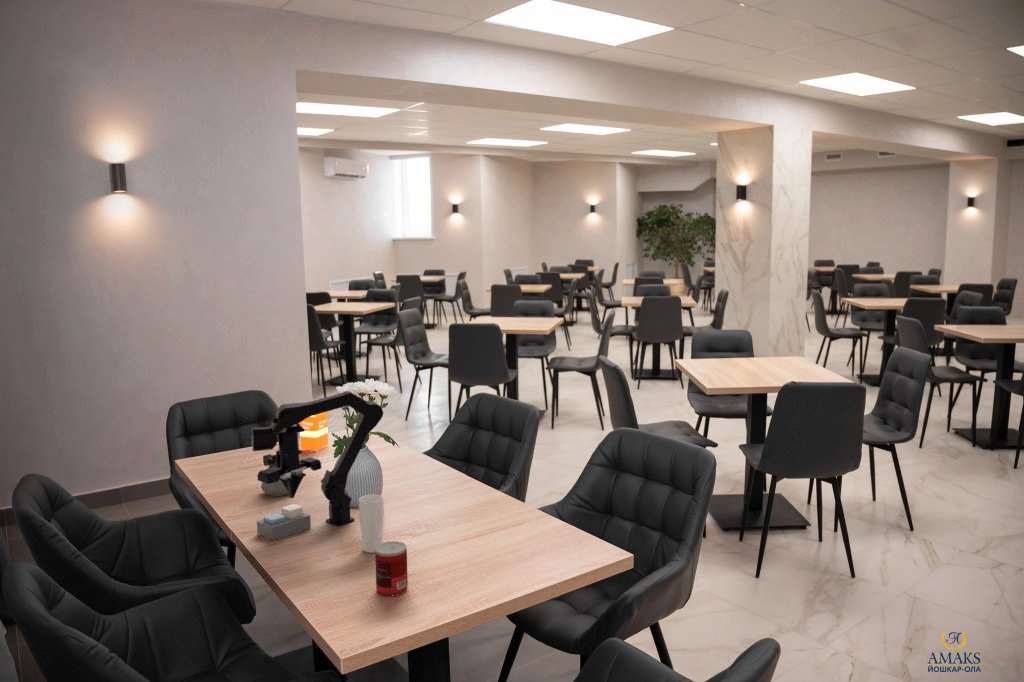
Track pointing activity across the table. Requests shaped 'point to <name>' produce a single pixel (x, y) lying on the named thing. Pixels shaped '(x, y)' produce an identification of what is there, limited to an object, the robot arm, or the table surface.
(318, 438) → the orange juice
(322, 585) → the table surface
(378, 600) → the table surface
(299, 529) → the key block
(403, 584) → the canned food
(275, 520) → the blue key
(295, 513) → the cream key
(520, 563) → the table surface
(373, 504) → the drinking glass
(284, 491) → the coffee pot
